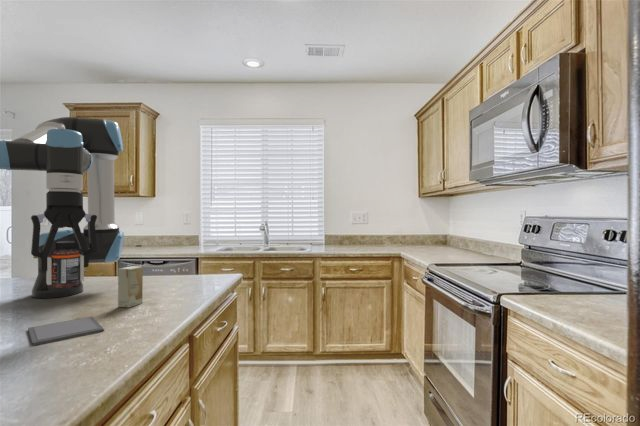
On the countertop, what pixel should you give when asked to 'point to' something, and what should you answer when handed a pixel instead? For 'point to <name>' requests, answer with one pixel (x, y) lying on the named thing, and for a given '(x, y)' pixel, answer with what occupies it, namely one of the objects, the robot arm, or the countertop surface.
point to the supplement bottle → (65, 265)
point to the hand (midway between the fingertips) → (65, 281)
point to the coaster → (63, 330)
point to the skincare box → (130, 286)
